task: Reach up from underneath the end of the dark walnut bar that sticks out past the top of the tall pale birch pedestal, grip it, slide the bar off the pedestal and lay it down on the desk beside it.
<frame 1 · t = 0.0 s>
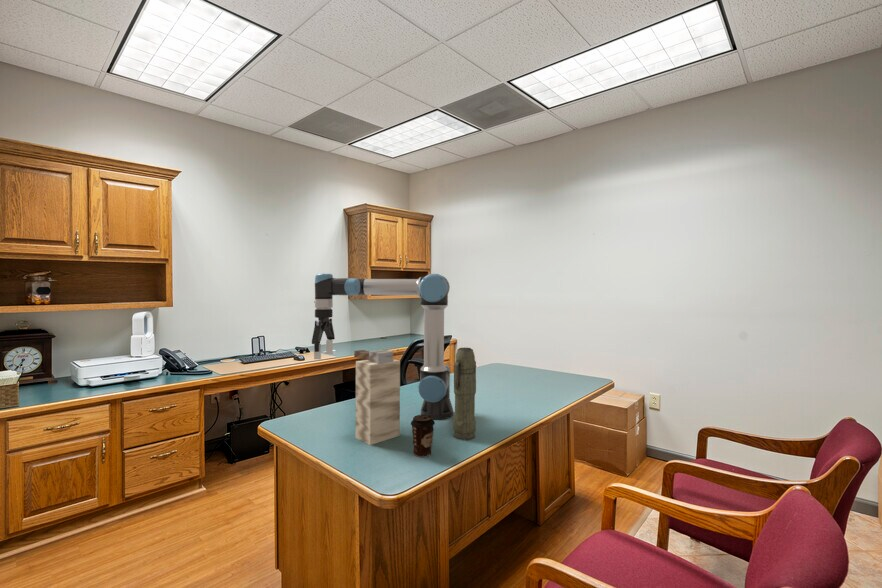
hand: (323, 356, 182), 28 cm above the table, tool pointing down, fingers open, 13 cm apart
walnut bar: (378, 360, 161), point 30 cm above the table, touching pedestal
thermos: (464, 436, 164), on the table
coffee cup: (422, 454, 146), on the table
pedestal: (377, 436, 162), on the table
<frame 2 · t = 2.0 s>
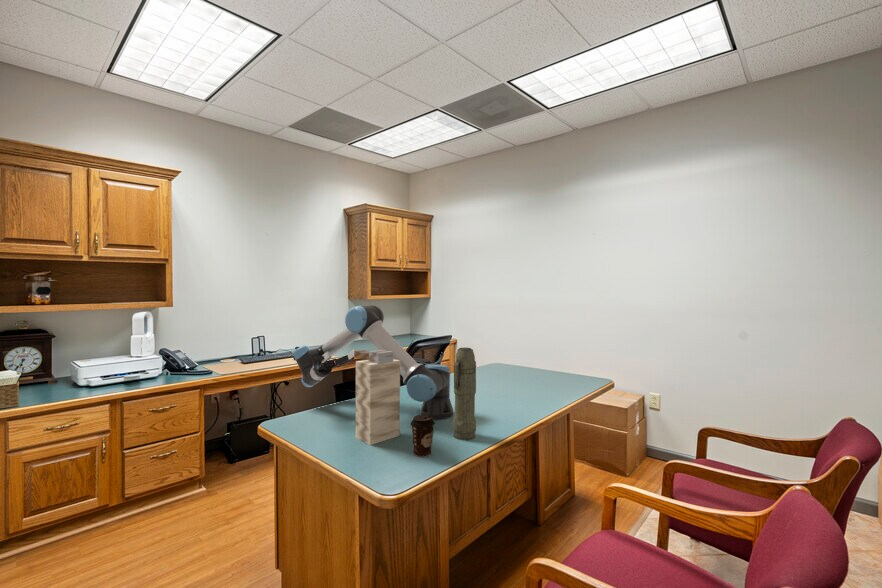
hand: (342, 352, 181), 30 cm above the table, tool pointing upward, fingers open, 13 cm apart
nothing on the table moved.
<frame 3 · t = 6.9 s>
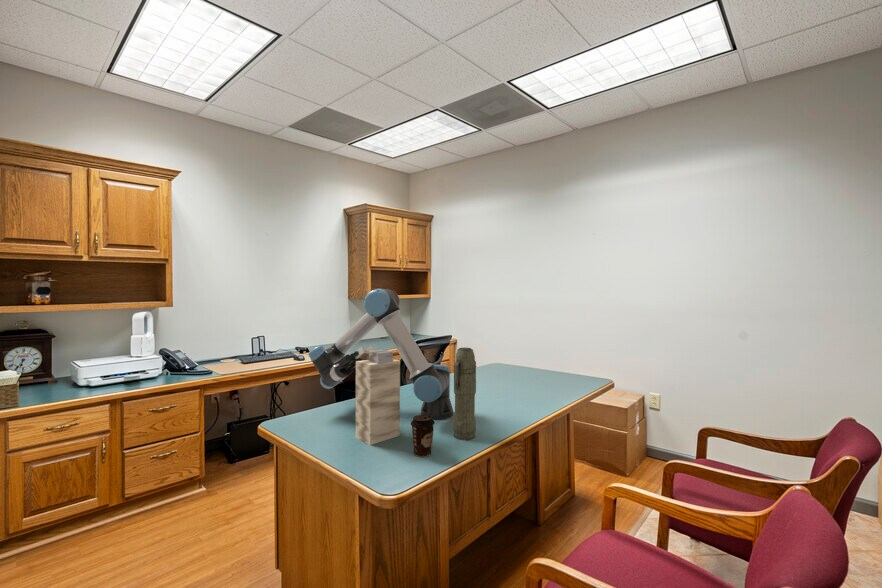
hand: (368, 348, 166), 34 cm above the table, tool pointing upward, fingers closed on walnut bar, 4 cm apart
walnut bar: (378, 360, 161), point 30 cm above the table, touching gripper, pedestal
everything else where it was.
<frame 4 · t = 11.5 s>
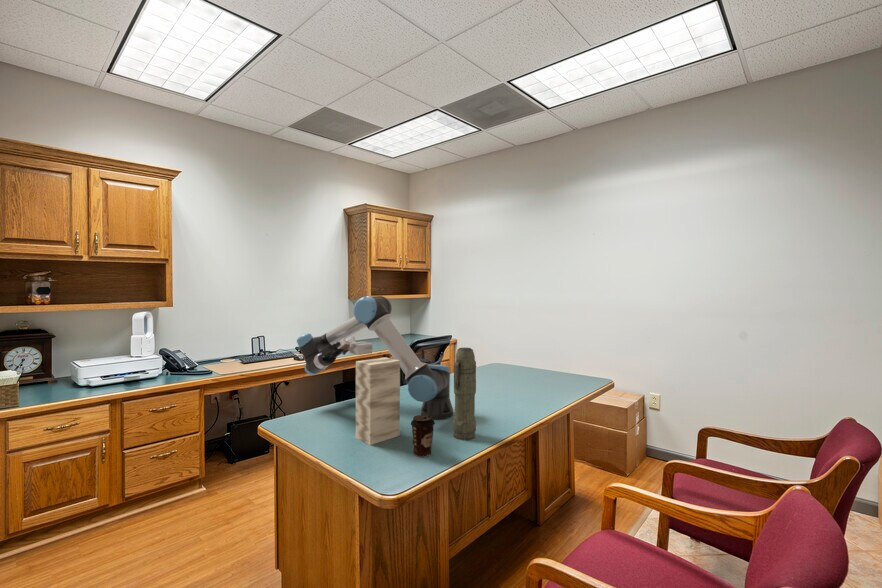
hand: (349, 340, 176), 36 cm above the table, tool pointing upward, fingers closed on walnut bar, 4 cm apart
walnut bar: (358, 352, 171), point 32 cm above the table, touching gripper
everything else where it was.
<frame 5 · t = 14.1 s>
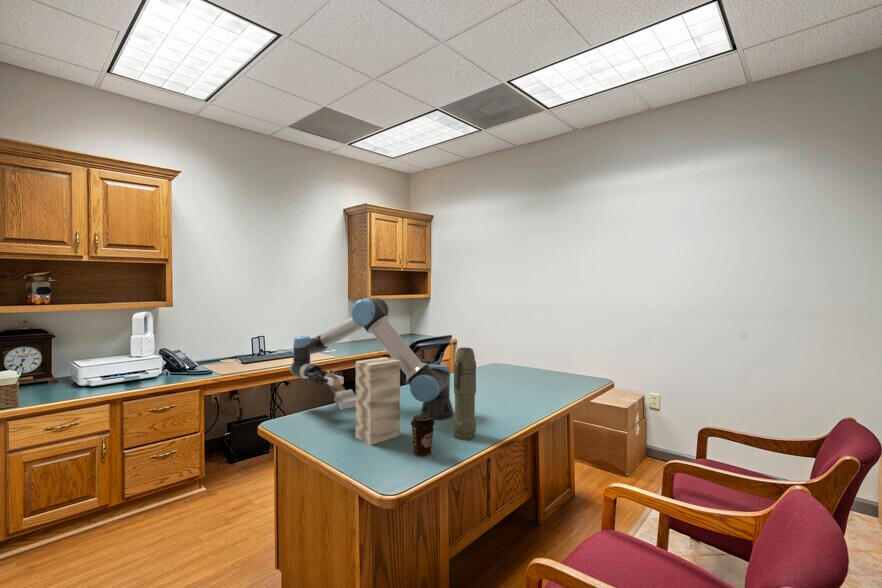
hand: (337, 381, 172), 19 cm above the table, tool horizontal, fingers closed on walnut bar, 4 cm apart
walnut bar: (342, 399, 169), point 12 cm above the table, tilted 30°, touching gripper
everything else where it was.
when the fingers open (11 cm above the table, at t = 16.1 s): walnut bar drops 4 cm, on the table.
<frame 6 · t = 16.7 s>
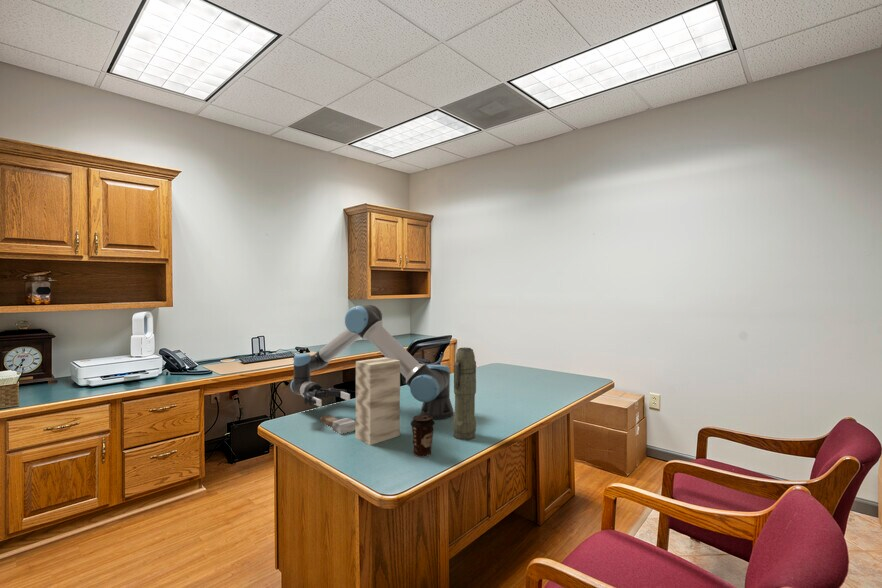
hand: (335, 400, 174), 11 cm above the table, tool horizontal, fingers open, 13 cm apart
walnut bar: (341, 429, 170), on the table
everything else where it was.
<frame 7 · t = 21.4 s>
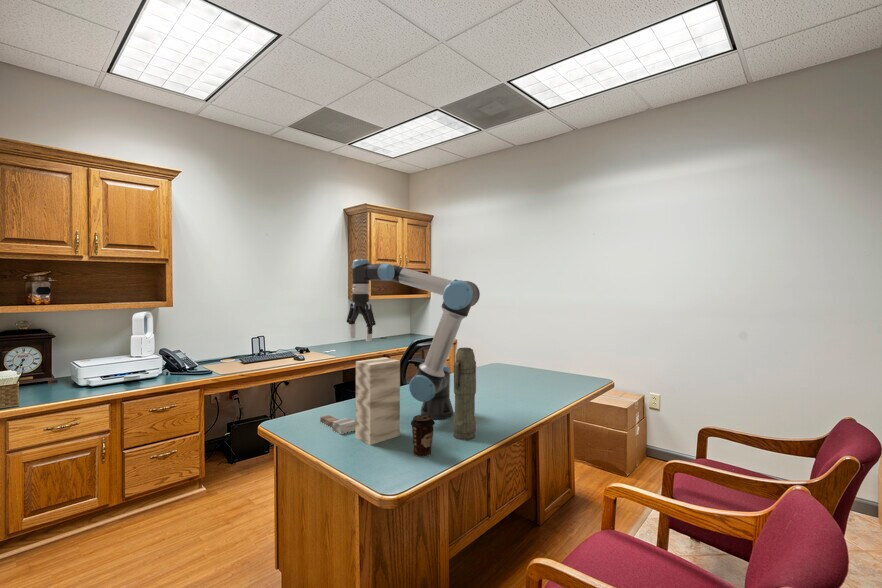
hand: (360, 339, 189), 35 cm above the table, tool pointing down, fingers open, 13 cm apart
nothing on the table moved.
at the end: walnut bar on the table; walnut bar touching table; the gripper is holding nothing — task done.
